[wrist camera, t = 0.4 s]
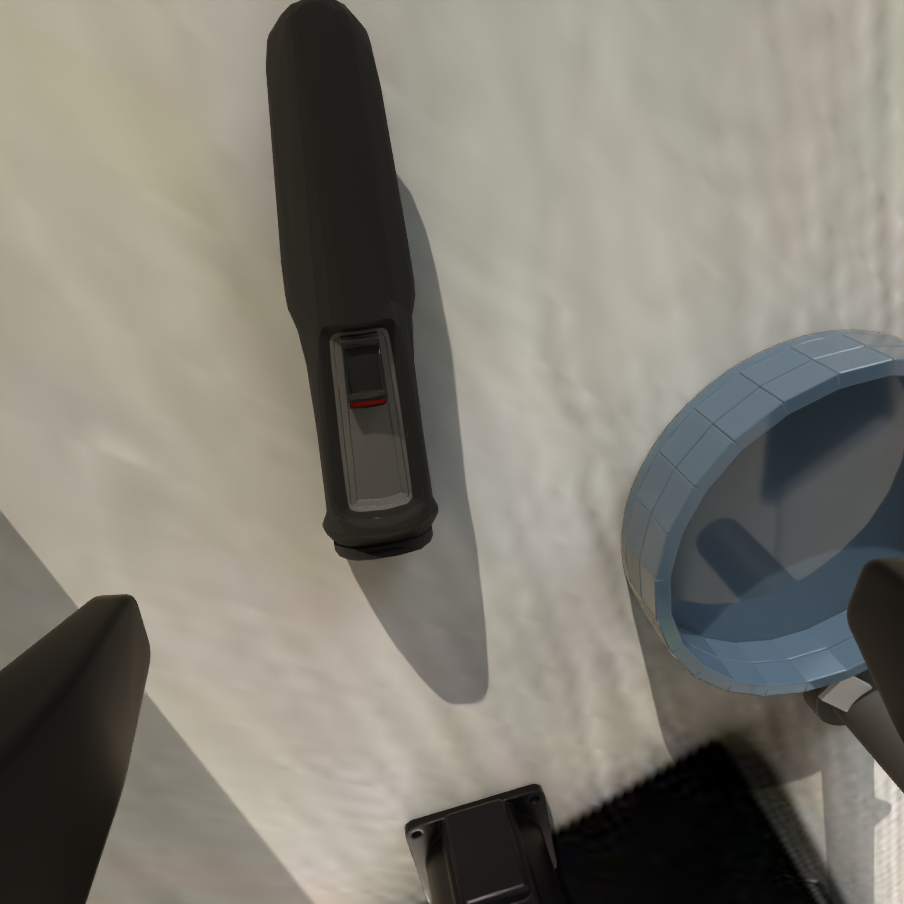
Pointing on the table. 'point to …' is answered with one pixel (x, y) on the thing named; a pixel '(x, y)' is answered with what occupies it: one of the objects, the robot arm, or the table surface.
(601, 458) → the table surface
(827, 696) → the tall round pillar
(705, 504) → the bowl
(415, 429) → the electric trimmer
